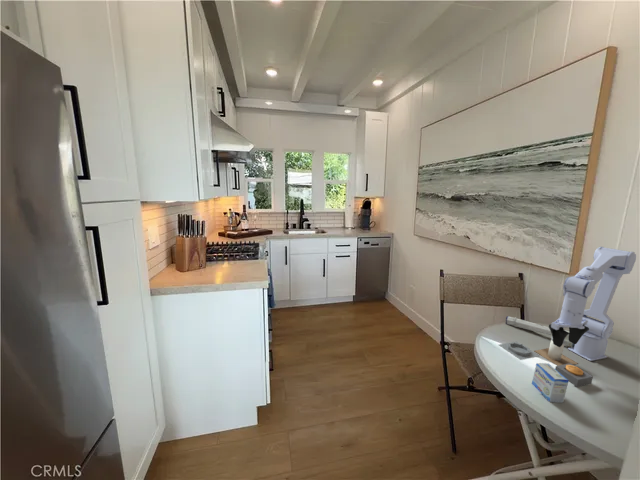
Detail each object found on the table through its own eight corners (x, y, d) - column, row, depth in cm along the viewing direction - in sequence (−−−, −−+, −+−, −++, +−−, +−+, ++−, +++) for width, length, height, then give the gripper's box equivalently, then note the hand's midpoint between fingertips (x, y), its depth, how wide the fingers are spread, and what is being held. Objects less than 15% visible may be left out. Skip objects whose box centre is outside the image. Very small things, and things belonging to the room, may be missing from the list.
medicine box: (530, 384, 92) (535, 362, 90) (544, 384, 92) (548, 362, 90) (549, 402, 84) (554, 379, 82) (563, 403, 84) (569, 379, 82)
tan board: (550, 348, 111) (550, 347, 111) (577, 364, 102) (578, 363, 102) (533, 351, 109) (533, 350, 109) (560, 368, 100) (560, 367, 100)
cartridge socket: (516, 342, 116) (517, 339, 115) (539, 356, 106) (540, 353, 106) (497, 345, 113) (498, 342, 113) (520, 360, 104) (520, 357, 103)
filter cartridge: (552, 353, 108) (556, 335, 106) (563, 359, 104) (568, 341, 102) (544, 354, 107) (548, 336, 105) (555, 361, 103) (560, 343, 101)
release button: (569, 372, 97) (571, 363, 96) (584, 381, 93) (587, 372, 92) (560, 374, 96) (562, 366, 95) (574, 383, 92) (577, 374, 91)
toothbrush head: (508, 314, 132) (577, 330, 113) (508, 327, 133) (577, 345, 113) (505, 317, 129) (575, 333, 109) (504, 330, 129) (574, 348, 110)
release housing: (568, 370, 99) (570, 363, 98) (591, 383, 92) (593, 376, 91) (554, 373, 97) (555, 366, 96) (576, 387, 90) (578, 379, 90)
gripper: (570, 318, 89) (561, 353, 92) (601, 313, 92) (592, 347, 95) (548, 308, 95) (541, 341, 98) (577, 304, 99) (570, 336, 102)
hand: (564, 344), depth 97 cm, fingers open, 7 cm apart
